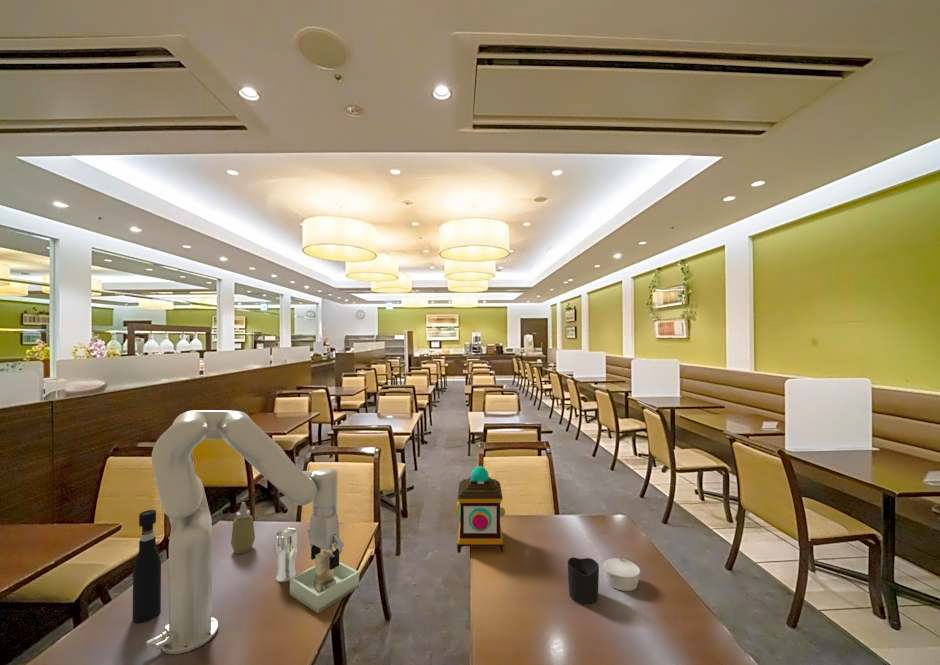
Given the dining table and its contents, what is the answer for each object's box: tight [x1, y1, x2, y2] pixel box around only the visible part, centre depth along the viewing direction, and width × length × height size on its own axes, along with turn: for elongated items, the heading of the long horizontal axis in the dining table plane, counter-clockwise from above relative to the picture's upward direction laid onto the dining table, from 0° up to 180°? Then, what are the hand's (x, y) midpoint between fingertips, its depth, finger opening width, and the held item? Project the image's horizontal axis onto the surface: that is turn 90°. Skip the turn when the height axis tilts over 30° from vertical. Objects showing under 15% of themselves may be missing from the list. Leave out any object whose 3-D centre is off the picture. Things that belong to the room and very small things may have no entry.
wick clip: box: [314, 579, 336, 591], centre depth 128 cm, size 4×6×2 cm
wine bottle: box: [132, 509, 162, 624], centre depth 117 cm, size 6×6×30 cm
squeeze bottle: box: [230, 501, 256, 554], centre depth 154 cm, size 8×8×18 cm
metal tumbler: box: [274, 527, 298, 583], centre depth 136 cm, size 7×7×15 cm
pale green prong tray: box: [289, 561, 360, 614], centre depth 128 cm, size 15×15×5 cm
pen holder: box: [567, 556, 600, 605], centre depth 125 cm, size 9×9×10 cm
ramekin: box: [603, 557, 641, 592], centre depth 132 cm, size 11×11×5 cm
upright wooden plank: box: [314, 550, 335, 593], centre depth 129 cm, size 5×2×11 cm, turn 142°
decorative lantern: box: [454, 465, 506, 554], centre depth 159 cm, size 20×20×30 cm
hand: (325, 562), depth 128 cm, fingers open, 9 cm apart
